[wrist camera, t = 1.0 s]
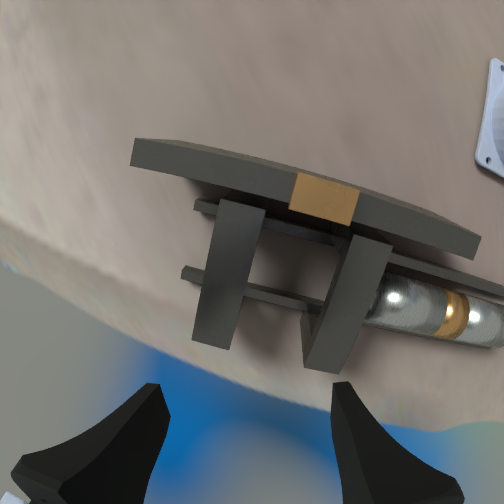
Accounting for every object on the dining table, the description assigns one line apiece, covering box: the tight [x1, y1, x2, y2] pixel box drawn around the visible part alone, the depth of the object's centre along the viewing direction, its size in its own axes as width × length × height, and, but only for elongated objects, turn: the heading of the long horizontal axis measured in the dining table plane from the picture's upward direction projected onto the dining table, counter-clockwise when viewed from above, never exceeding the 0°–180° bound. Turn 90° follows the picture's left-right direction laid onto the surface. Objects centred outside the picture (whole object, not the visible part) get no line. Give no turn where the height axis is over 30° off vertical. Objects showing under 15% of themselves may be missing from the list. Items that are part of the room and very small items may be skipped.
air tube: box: [363, 271, 504, 348], centre depth 18 cm, size 12×3×3 cm, turn 76°
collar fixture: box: [130, 138, 504, 374], centre depth 16 cm, size 26×9×7 cm, turn 76°
